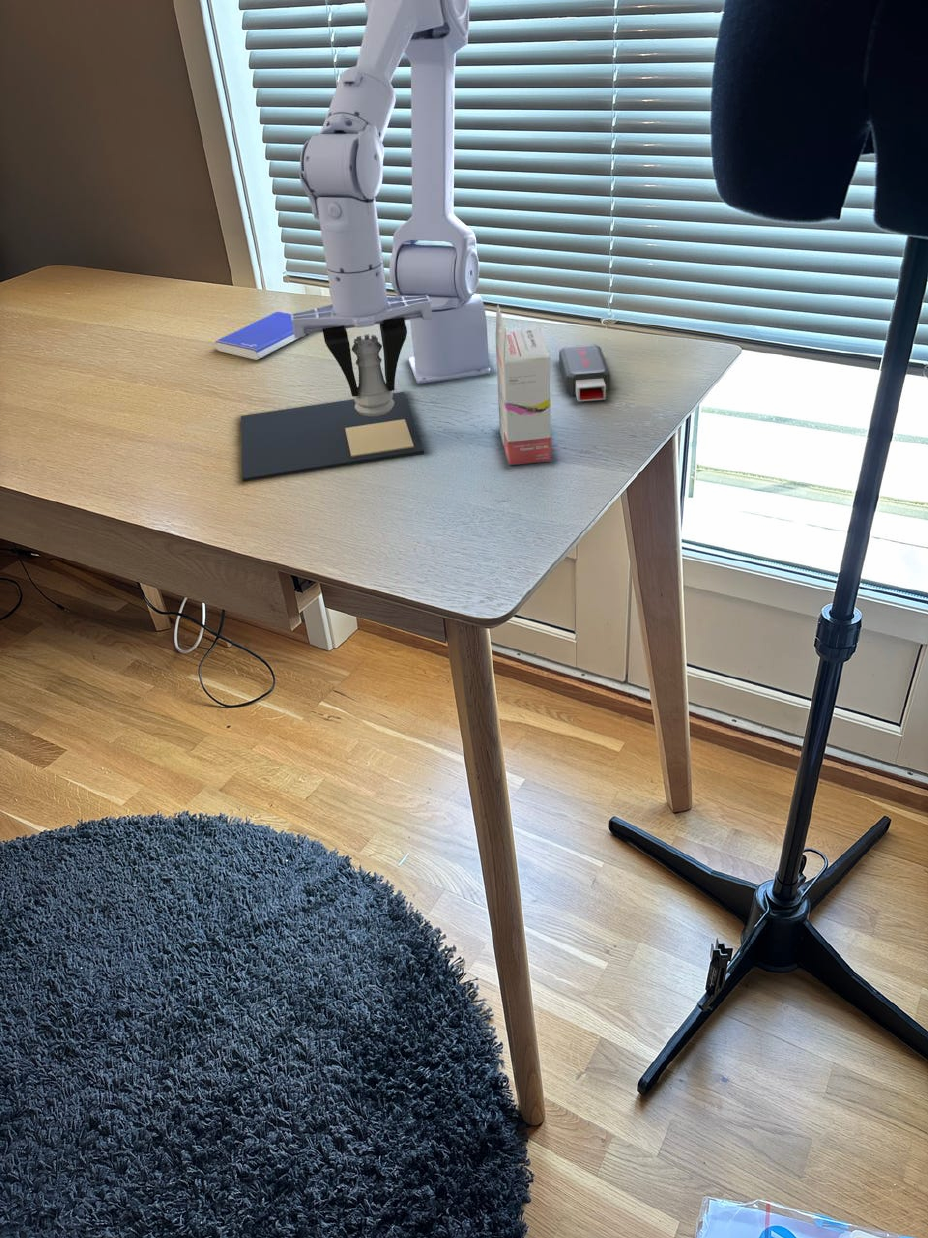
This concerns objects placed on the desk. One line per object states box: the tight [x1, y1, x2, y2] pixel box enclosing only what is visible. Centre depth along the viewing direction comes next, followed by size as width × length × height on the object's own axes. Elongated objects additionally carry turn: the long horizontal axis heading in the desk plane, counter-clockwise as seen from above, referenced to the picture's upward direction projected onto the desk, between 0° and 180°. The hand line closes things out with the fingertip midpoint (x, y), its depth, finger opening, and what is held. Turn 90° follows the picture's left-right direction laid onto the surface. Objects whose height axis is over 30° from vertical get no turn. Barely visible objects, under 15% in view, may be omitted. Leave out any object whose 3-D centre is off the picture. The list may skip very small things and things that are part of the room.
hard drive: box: [214, 311, 307, 361], centre depth 136 cm, size 2×8×12 cm
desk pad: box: [240, 391, 425, 482], centre depth 111 cm, size 20×16×1 cm
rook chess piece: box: [351, 333, 394, 416], centre depth 104 cm, size 4×4×8 cm
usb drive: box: [558, 344, 611, 402], centre depth 117 cm, size 5×12×3 cm, turn 2°
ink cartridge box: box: [494, 304, 552, 466], centre depth 101 cm, size 9×5×15 cm, turn 5°
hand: (372, 390), depth 105 cm, fingers closed on rook chess piece, 3 cm apart
